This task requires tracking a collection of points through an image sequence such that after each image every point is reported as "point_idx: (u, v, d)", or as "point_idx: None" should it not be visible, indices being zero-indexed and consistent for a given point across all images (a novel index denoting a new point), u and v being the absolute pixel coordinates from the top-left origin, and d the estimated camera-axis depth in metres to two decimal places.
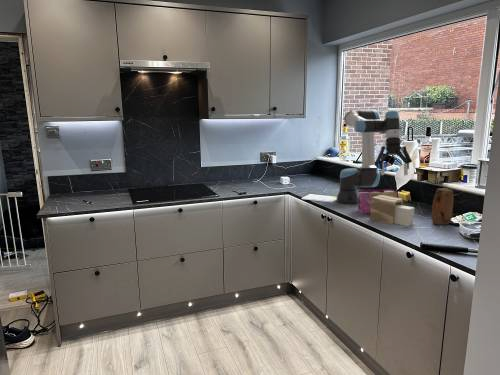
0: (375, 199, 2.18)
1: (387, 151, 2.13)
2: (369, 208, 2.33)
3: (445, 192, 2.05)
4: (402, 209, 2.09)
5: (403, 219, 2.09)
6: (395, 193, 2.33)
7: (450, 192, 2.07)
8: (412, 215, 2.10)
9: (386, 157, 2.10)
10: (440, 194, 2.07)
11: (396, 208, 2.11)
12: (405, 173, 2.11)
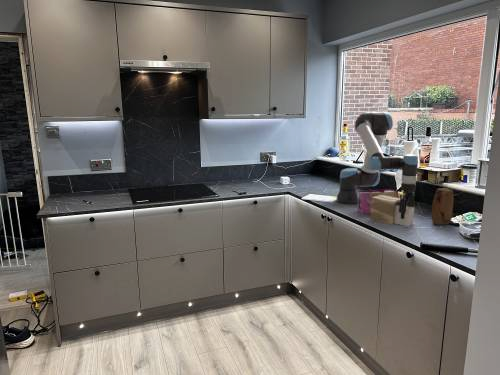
0: (375, 199, 2.18)
1: None
2: (369, 208, 2.33)
3: (445, 192, 2.05)
4: None
5: None
6: (395, 193, 2.33)
7: (450, 192, 2.07)
8: (412, 215, 2.10)
9: (406, 205, 2.07)
10: (440, 194, 2.07)
11: (396, 208, 2.11)
12: None
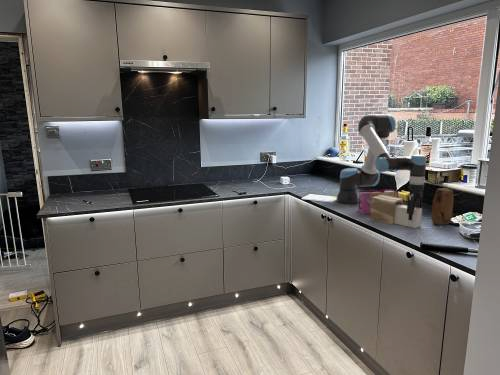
0: (375, 199, 2.18)
1: None
2: (370, 208, 2.33)
3: (445, 192, 2.05)
4: None
5: None
6: (395, 193, 2.33)
7: (450, 192, 2.07)
8: (420, 217, 2.06)
9: (414, 206, 2.03)
10: (440, 194, 2.07)
11: (404, 209, 2.08)
12: None
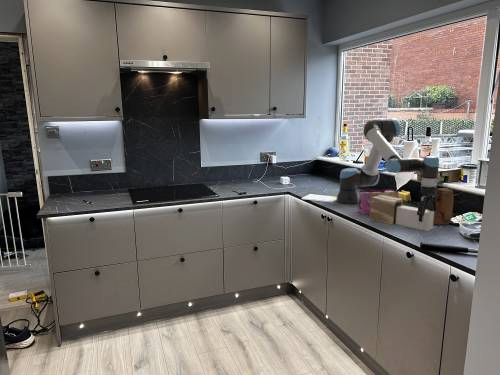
0: (375, 199, 2.18)
1: None
2: (370, 208, 2.33)
3: (445, 192, 2.05)
4: None
5: None
6: (396, 193, 2.33)
7: (450, 192, 2.07)
8: (432, 219, 2.02)
9: (425, 208, 1.98)
10: (440, 194, 2.07)
11: (415, 212, 2.03)
12: None
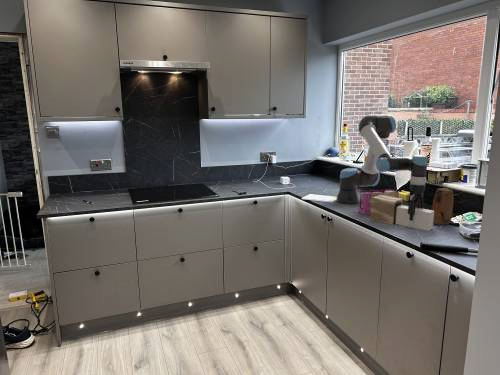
0: (375, 199, 2.18)
1: None
2: None
3: (445, 192, 2.05)
4: (422, 213, 2.01)
5: (424, 222, 2.01)
6: (396, 193, 2.33)
7: (450, 192, 2.07)
8: (432, 219, 2.02)
9: (415, 207, 2.03)
10: (440, 194, 2.07)
11: (416, 211, 2.03)
12: None
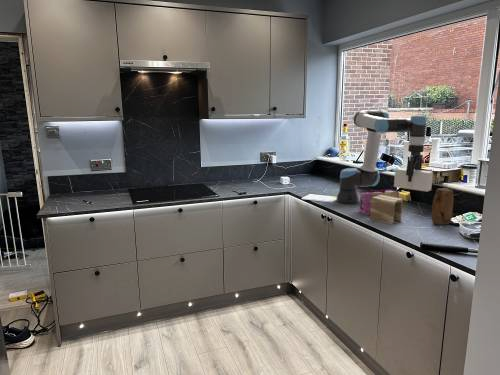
0: (375, 199, 2.18)
1: None
2: None
3: (445, 192, 2.05)
4: (421, 173, 1.99)
5: (422, 183, 1.99)
6: (396, 193, 2.33)
7: (450, 192, 2.07)
8: (431, 180, 2.00)
9: (414, 168, 2.01)
10: (440, 194, 2.07)
11: (414, 172, 2.01)
12: None
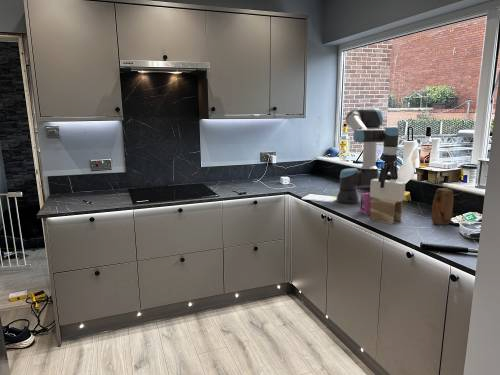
0: (375, 199, 2.18)
1: None
2: None
3: (445, 192, 2.05)
4: (393, 184, 2.10)
5: (395, 193, 2.11)
6: None
7: (450, 192, 2.07)
8: (403, 190, 2.12)
9: None
10: (440, 194, 2.07)
11: (388, 183, 2.13)
12: None
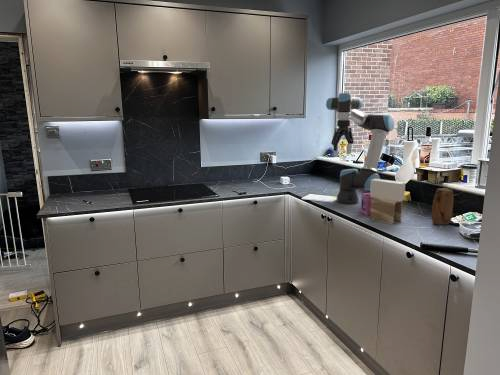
0: (375, 199, 2.18)
1: (338, 132, 2.24)
2: None
3: (445, 192, 2.05)
4: (393, 184, 2.10)
5: (395, 193, 2.11)
6: None
7: (450, 192, 2.07)
8: (403, 190, 2.12)
9: None
10: (440, 194, 2.07)
11: (388, 183, 2.13)
12: (348, 152, 2.32)
